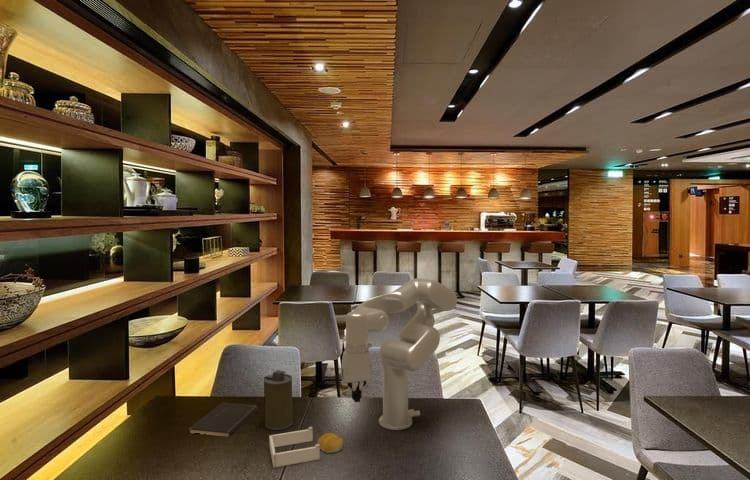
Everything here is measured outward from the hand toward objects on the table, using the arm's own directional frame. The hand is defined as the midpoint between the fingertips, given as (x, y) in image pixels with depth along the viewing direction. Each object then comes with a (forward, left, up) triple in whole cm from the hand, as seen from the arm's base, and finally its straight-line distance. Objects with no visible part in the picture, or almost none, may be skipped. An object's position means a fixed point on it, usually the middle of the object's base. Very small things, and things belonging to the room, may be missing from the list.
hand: (356, 400), depth 151 cm
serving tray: (+22, 0, -15) cm, 26 cm away
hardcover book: (+43, -32, -16) cm, 56 cm away
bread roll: (+9, 0, -15) cm, 18 cm away
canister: (+24, -23, -15) cm, 37 cm away
